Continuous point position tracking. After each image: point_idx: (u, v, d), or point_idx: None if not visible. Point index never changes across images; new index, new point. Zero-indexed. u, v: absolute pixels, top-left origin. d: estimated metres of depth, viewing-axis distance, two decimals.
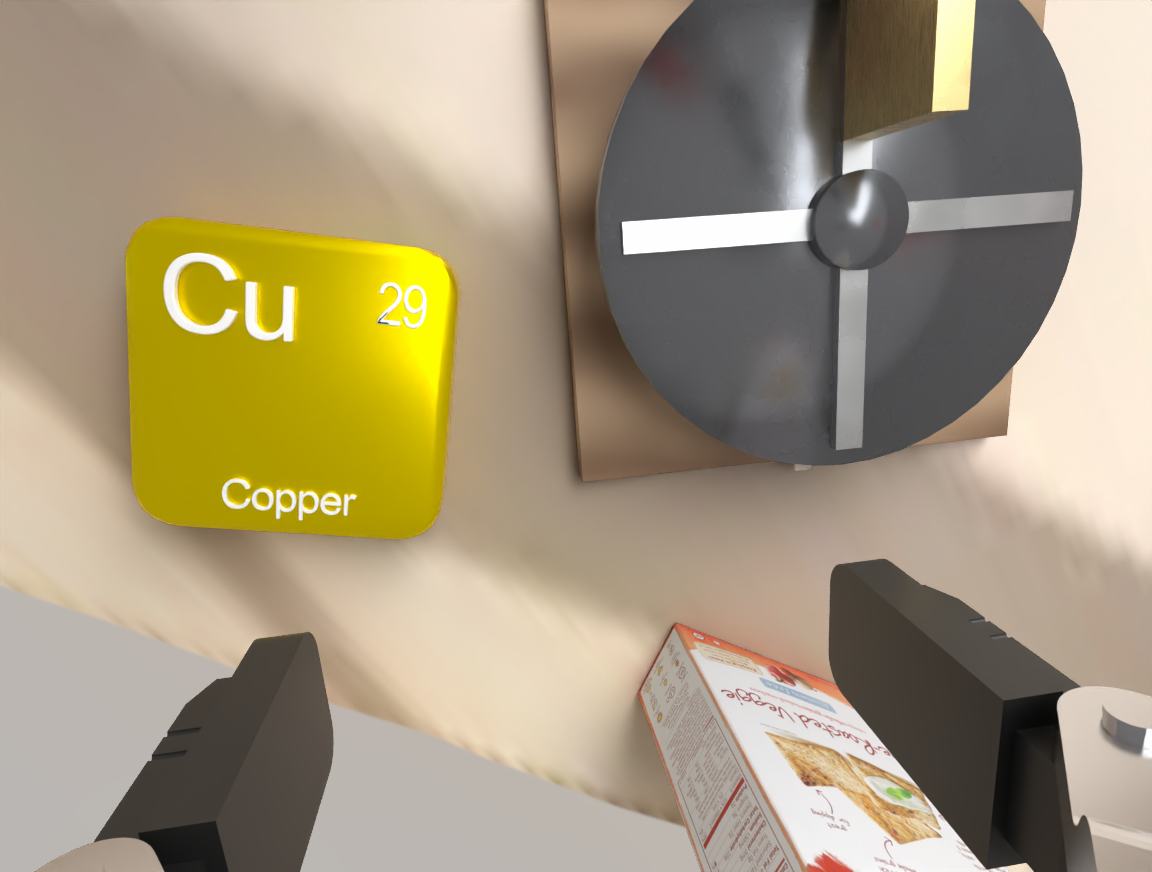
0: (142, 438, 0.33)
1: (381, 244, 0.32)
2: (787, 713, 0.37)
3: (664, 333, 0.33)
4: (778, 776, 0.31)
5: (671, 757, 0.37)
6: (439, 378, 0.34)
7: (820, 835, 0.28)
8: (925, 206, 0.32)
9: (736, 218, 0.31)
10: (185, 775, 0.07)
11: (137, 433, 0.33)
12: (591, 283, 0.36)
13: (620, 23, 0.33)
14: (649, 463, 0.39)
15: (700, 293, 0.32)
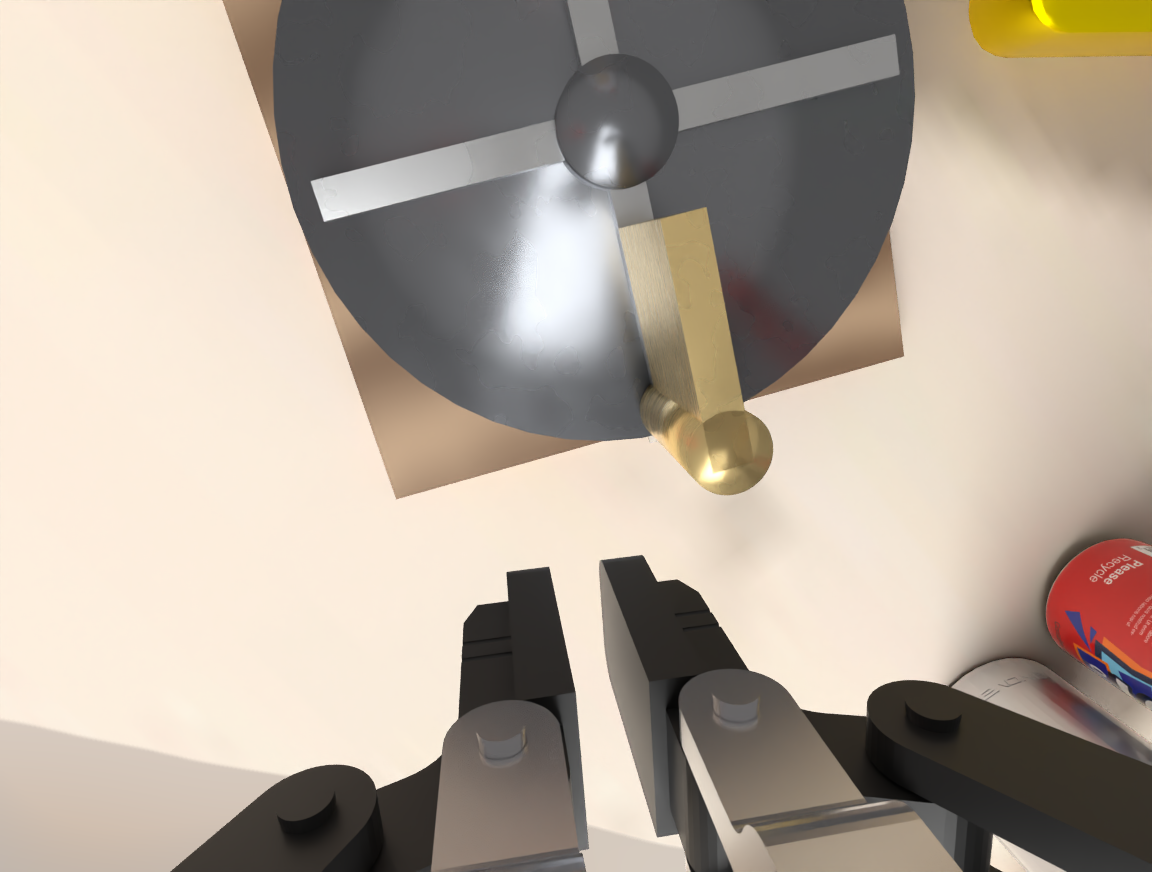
0: None
1: (1102, 31, 0.30)
2: None
3: None
4: None
5: None
6: None
7: None
8: (526, 161, 0.25)
9: (766, 102, 0.25)
10: (523, 664, 0.08)
11: None
12: None
13: None
14: None
15: (786, 2, 0.25)
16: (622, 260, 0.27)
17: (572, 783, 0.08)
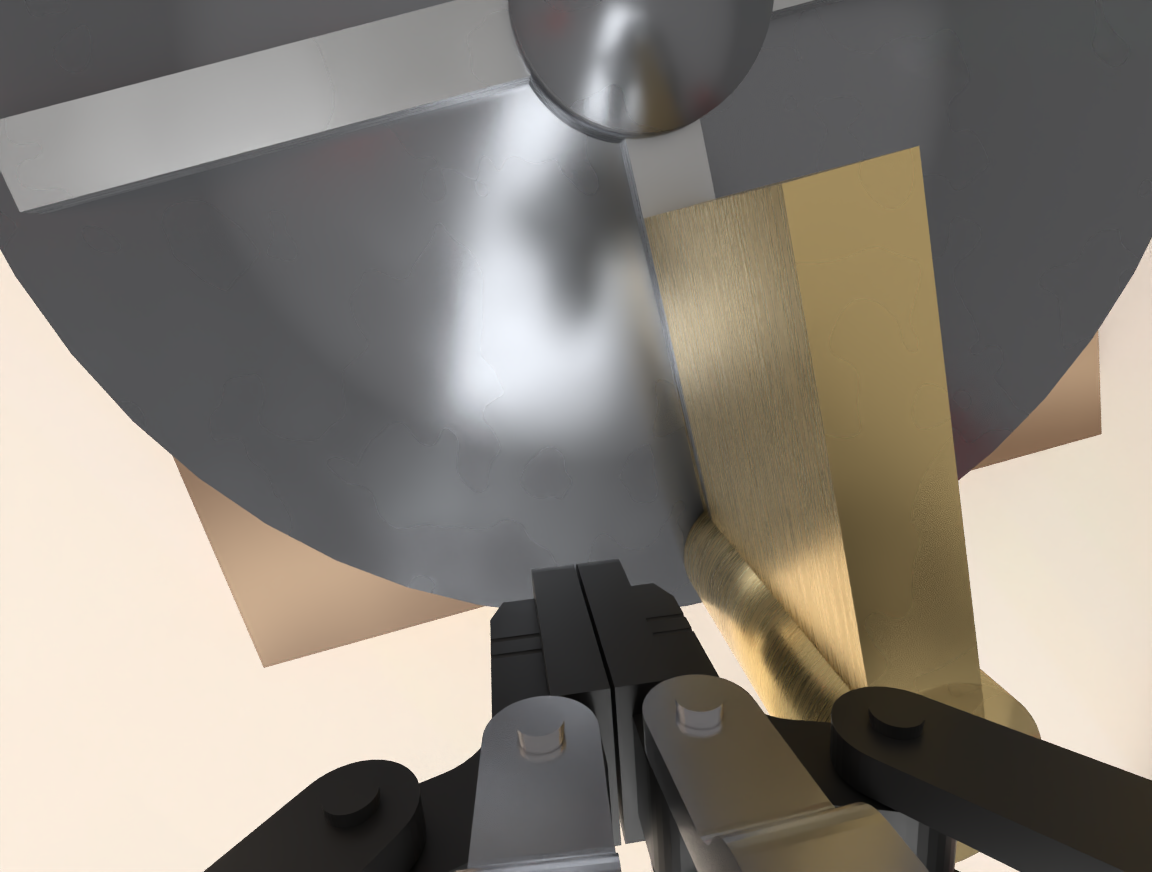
0: None
1: None
2: None
3: None
4: None
5: None
6: None
7: None
8: (450, 79, 0.12)
9: None
10: (555, 660, 0.08)
11: None
12: None
13: None
14: None
15: None
16: (651, 282, 0.14)
17: None
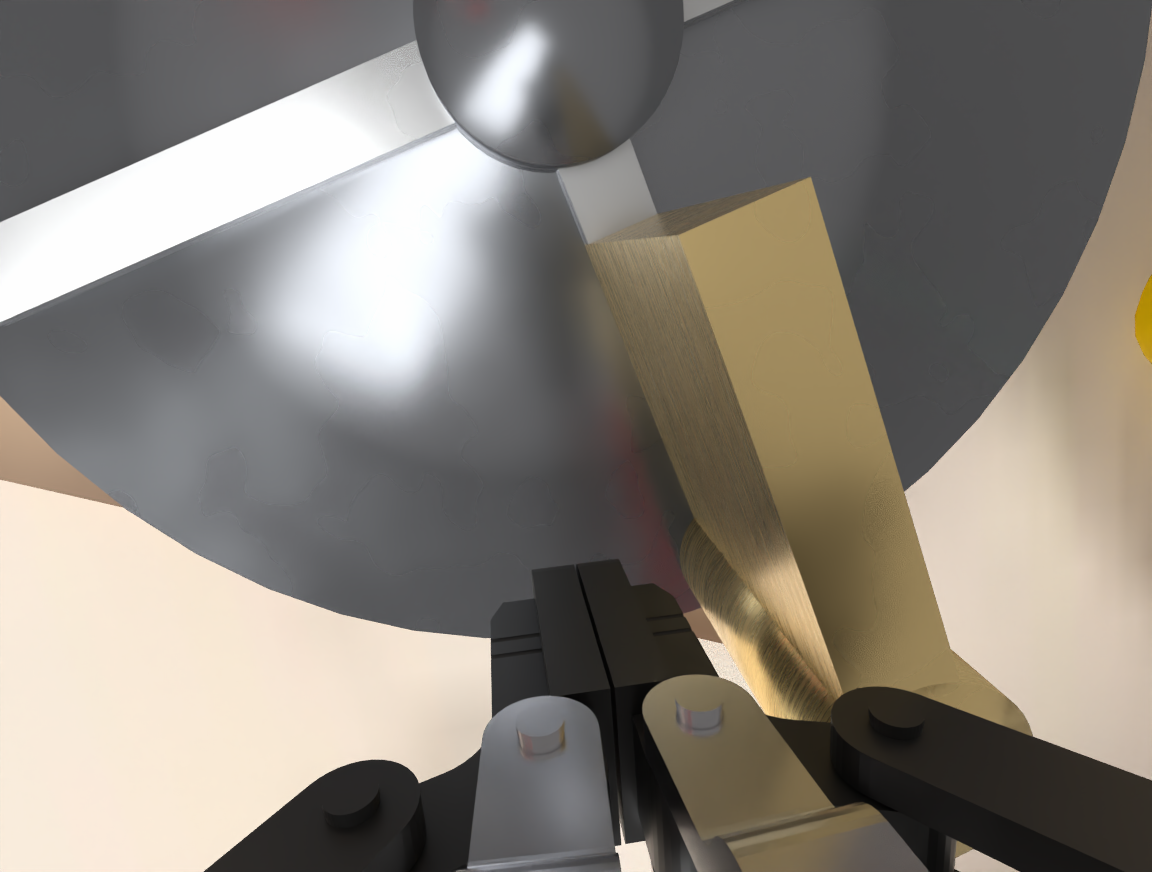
0: None
1: None
2: None
3: None
4: None
5: None
6: None
7: None
8: (376, 138, 0.12)
9: None
10: (555, 660, 0.08)
11: None
12: None
13: None
14: None
15: None
16: (607, 303, 0.14)
17: None
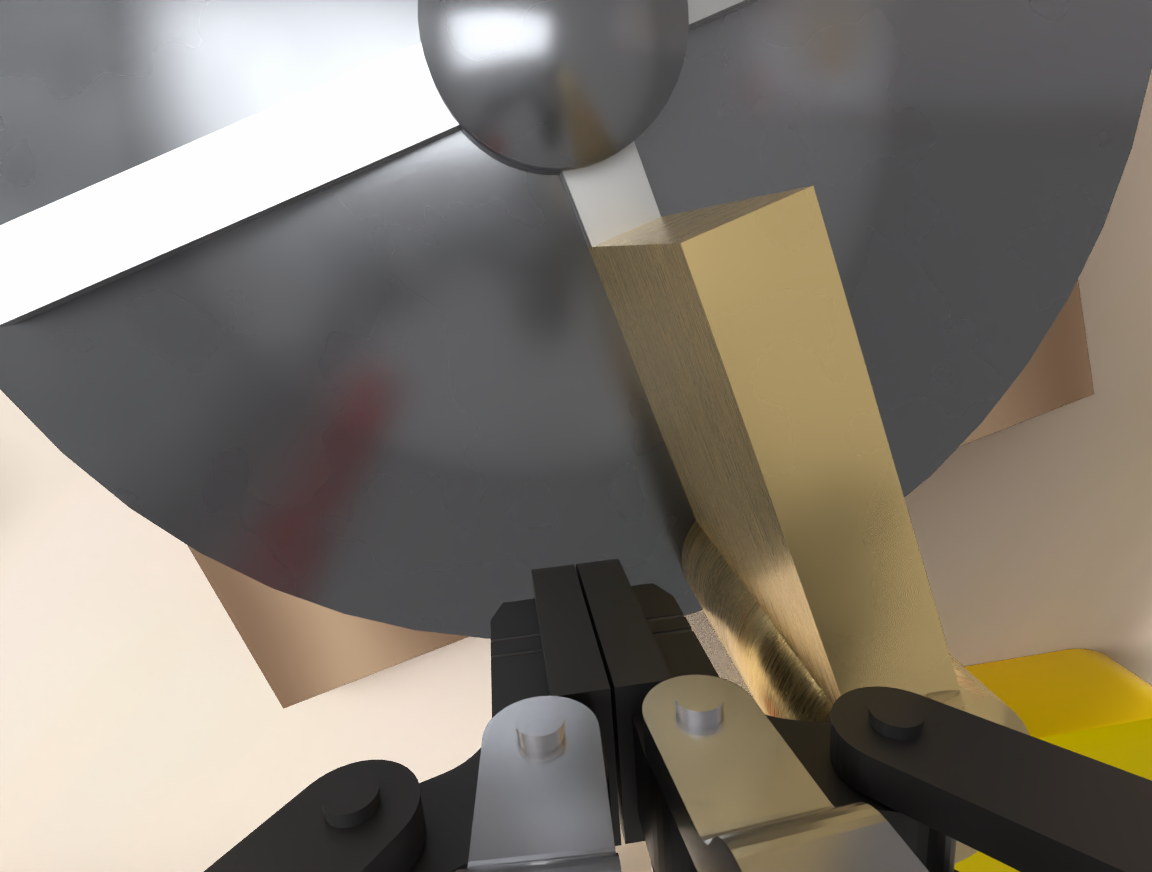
0: None
1: None
2: None
3: None
4: None
5: None
6: None
7: None
8: (381, 140, 0.12)
9: None
10: (555, 660, 0.08)
11: None
12: None
13: None
14: None
15: None
16: (610, 305, 0.14)
17: None
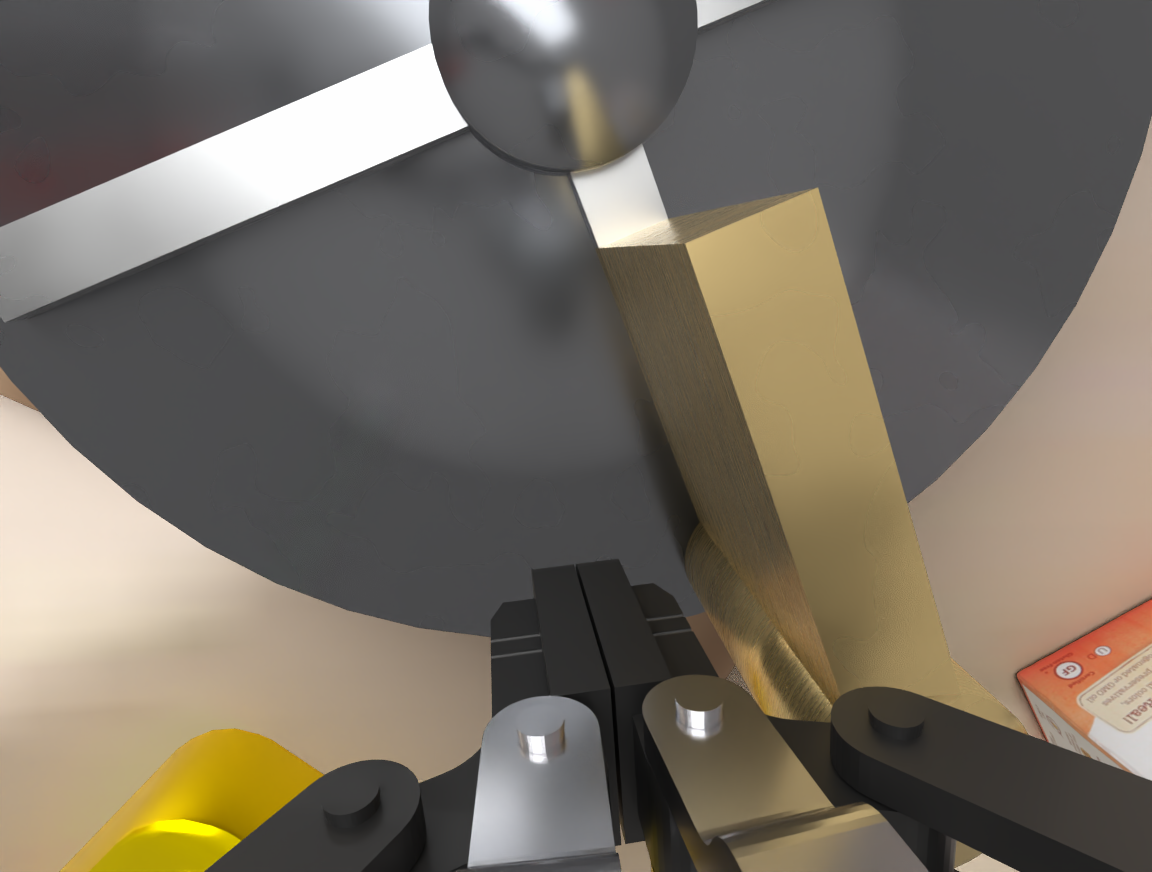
0: None
1: None
2: None
3: None
4: None
5: None
6: None
7: None
8: (390, 140, 0.12)
9: None
10: (555, 661, 0.08)
11: None
12: None
13: None
14: None
15: None
16: (616, 306, 0.14)
17: None
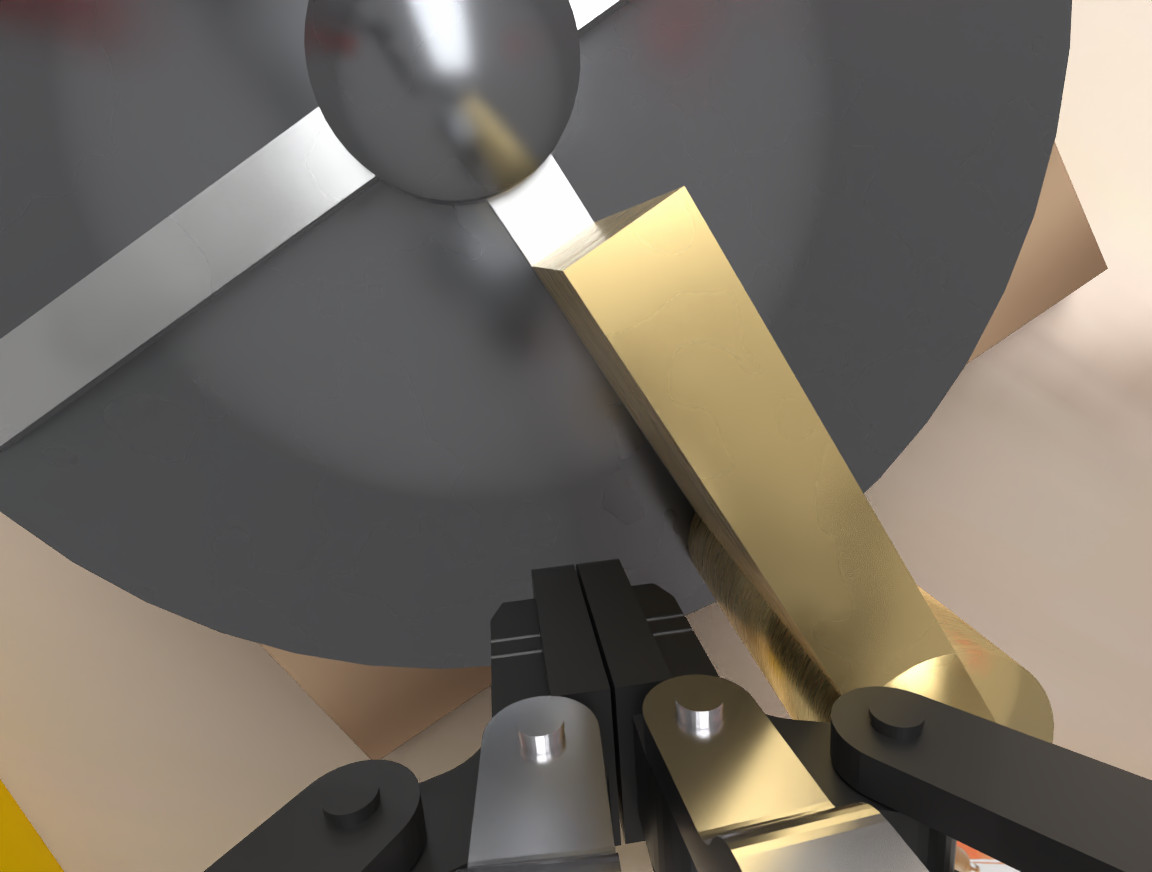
0: None
1: None
2: None
3: None
4: None
5: None
6: None
7: None
8: (304, 206, 0.12)
9: None
10: (555, 660, 0.08)
11: None
12: None
13: None
14: (464, 677, 0.21)
15: None
16: (564, 318, 0.14)
17: None
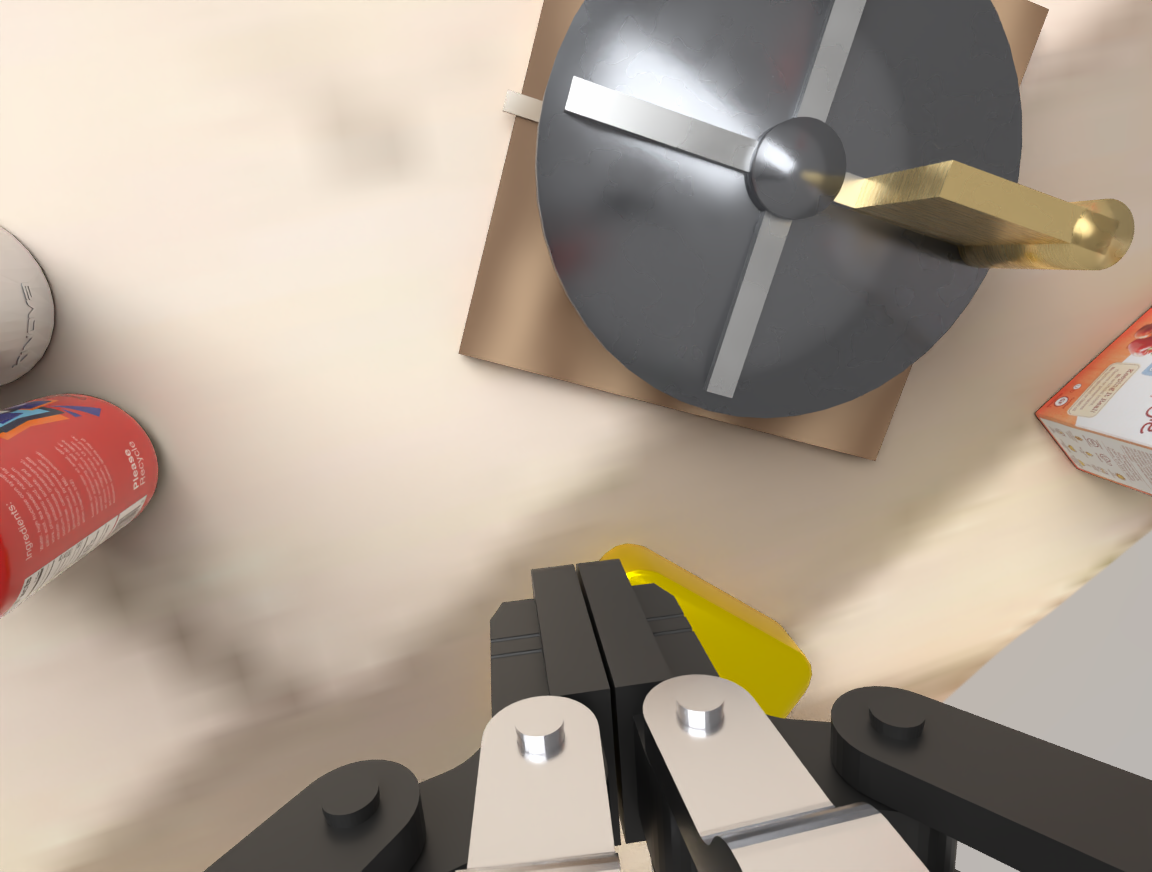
0: None
1: None
2: None
3: None
4: None
5: None
6: (710, 613, 0.41)
7: None
8: (778, 246, 0.33)
9: (847, 44, 0.31)
10: (555, 661, 0.08)
11: None
12: None
13: (525, 304, 0.37)
14: (888, 398, 0.41)
15: None
16: (870, 216, 0.34)
17: None
